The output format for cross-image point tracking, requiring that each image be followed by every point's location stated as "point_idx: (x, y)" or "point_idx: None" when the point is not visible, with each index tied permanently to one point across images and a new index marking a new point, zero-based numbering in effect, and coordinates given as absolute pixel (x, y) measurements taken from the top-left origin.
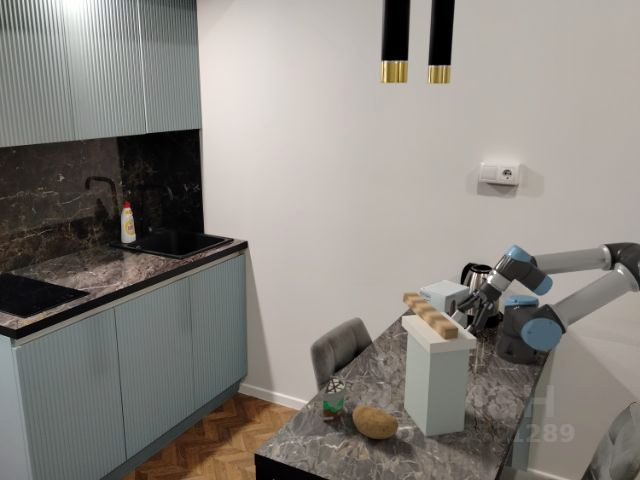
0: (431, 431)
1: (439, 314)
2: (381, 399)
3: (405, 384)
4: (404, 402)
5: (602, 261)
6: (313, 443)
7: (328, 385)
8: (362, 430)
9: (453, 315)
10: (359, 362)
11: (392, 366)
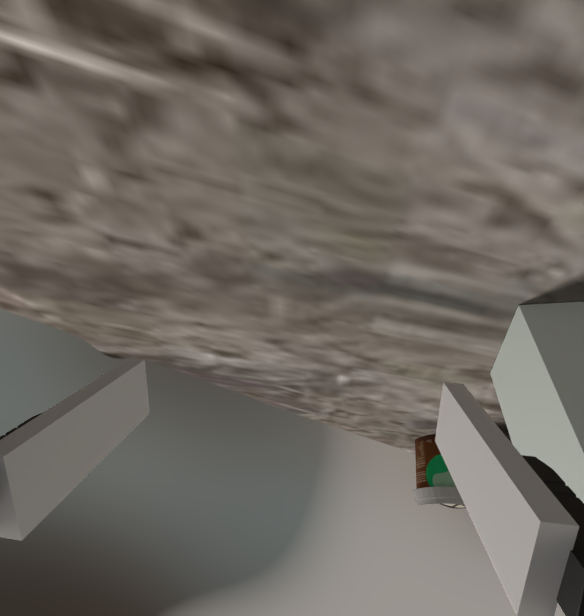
0: None
1: None
2: (425, 392)
3: (514, 446)
4: (495, 388)
5: None
6: None
7: (451, 507)
8: None
9: (78, 476)
10: (237, 388)
11: (252, 347)
